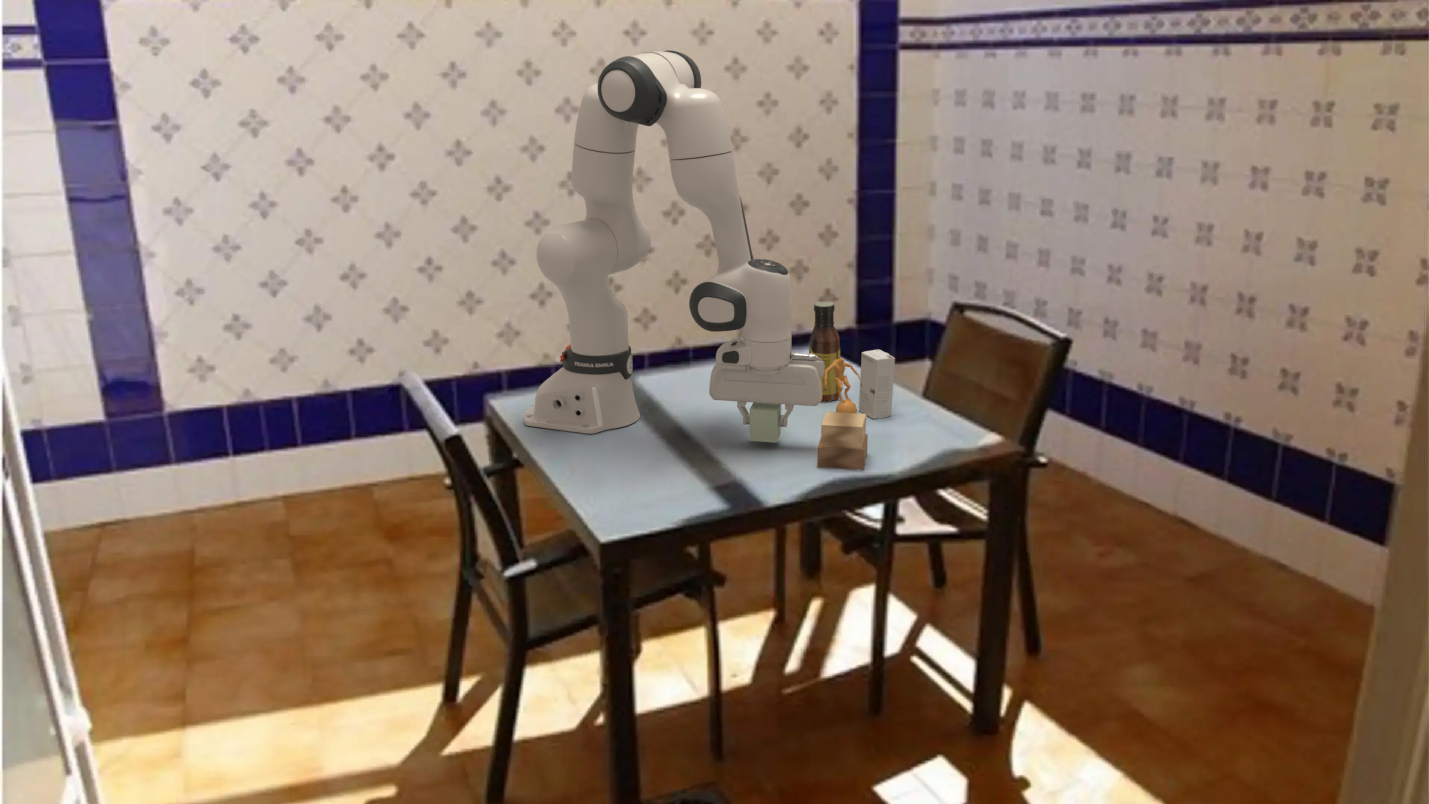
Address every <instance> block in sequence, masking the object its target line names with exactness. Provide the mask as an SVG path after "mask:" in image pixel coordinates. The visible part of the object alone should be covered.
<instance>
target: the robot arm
mask: <svg viewBox="0 0 1429 804" xmlns="http://www.w3.org/2000/svg"><path fill="white" fill-rule="evenodd" d="M699 69H700V68H699V67H698V65H697V64H696V62H695V61H694V60H693V59H692V58H691V57H690V56H689V55H687V54H685V53H683V52H679V51H676V50H669V49H667V50H663V51H662V50H660V51H658V50H652V51H643V52H641V53H638V54H634V55H631V56H629V55H628V56H623V57H619V58H617V59H615V60H613V61H611V62H610V63H609V64H607V65H606V66H605V68H603V70H602V71H601V73H600V75H599V77H598V80H597V81H598V82H597V83H594V84H592V85H590V86H589V87H588V88H587V89H586V90H585V91H584V92H583V95H582V99H581V102H580V106H579V110H578V114H577V118H576V123H575V124H576V126H575V132H574V139H573V150H572V164H571V165H572V166H571V175H570V176H571V177H570V182H571V187H572V188H573V190H574V191H575V192H576V193H577V195H579V196H580V197H582V198H583V200H584V203H585V208H586V210H585V211H586V213H585V214H586V215H585V218H584V220H579V221H575V222H569V223H567V224H562V225H560V226H558V227H556V228H554V229H552V230H551V231H549V232H547V233H546V234H544V235H543V236H542V237H541V238H540V239H539V240H538V244H537V248H536V260H537V261H536V262H537V265H538V267H539V270H540V272H541V274H543V276H544V277H545V278H546V279H547V280H548V281H550V282H551V283H552V284H554V286H556V288H557V289H558V291H559V292H560V294H561V296H562V299H563V301H564V303H565V306H566V310H567V314H568V326H569V337H570V343H569V344H568V345H567V346H566V347H565V349H564V351H562V352H561V355H559V363H562V367H561V368H559V369H558V370H557V371H556V372H554V373H553V374H552V375H550V377H548V378H547V379H546V380H544V381H543V383H541V384H540V386H539V387H538V389H537V391H536V394H535V398H534V404H533V405H532V406H531V407H530V408H528V409H527V410H526V412H525V413H524V415H523V424H524V425H525V426H528V427H535V428H542V429H549V430H556V431H558V430H559V431H566V432H572V433H579V434H580V433H581V434H589V435H591V434H593V435H594V434H596V433H600V432H603V431H606V430H612V429H613V430H614V429H618V428H622V427H625V426H629V425H632V424H633V423H636V422H637V421H638V420H639V419H640V418H641V414H640V411H639V408H638V404H637V402H636V398H635V393H634V392H635V391H634V387H633V380H632V375H633V370H634V369H633V365H634V364H633V355H632V348H631V346H630V344H629V343H630V341H629V322H628V321H629V320H628V319H629V318H628V317H629V315H628V309H627V307H626V305H625V304H624V303H623V301H621V300H619V299H618V298H616V297H615V296H614V295H613V292H612V291H611V288H610V283H609V275H614V274H616V273H621V272H624V271H628V270H629V269H631V268H633V267H635V266H636V265H638V264H639V263H641V262H642V261H643V260H645V259H646V258H647V256H648V255H649V254H650V253H649V252H650V250H651V245H652V239H651V233H650V230H649V228H648V227H647V224H646V223H645V222H644V221H643V219H642V218H640V217H639V215H638V213H637V211H636V206H635V201H634V196H633V178H634V167H635V157H636V155H635V154H636V147H637V146H636V145H637V136H638V135H637V134H638V128H639V126H640V125H642V126H646V127H652V126H654V124H656V125H658V126H660V127H661V129H662V130H663V132H664V134H665V137H666V142H667V143H666V144H667V151H668V159H669V165H670V173H671V178H672V181H673V182H672V183H673V184H674V188H675V190H676V193H677V196H679V197H680V199H681V200H683V201H684V202H685V203H686V204H688V206H691V207H692V208H693V207H694V208H695V209H698V210H699V211H701V212H702V213H703V214H704V216H705V217H706V218H707V219H708V221H709V224H710V226H711V230H712V235H713V240H714V245H715V250H716V255H717V261H718V265H717V266H718V267H717V271H716V274H715V275H712V276H710V277H709V278H706V279H705V280H703V281H702V282H700V283H699V284H697V285H696V286H695V287H694V288H693V290H692V292H691V293H690V296H689V302H688V304H689V305H688V307H689V312H690V315H691V318H692V319H693V320H694V322H695V323H696V324H697V325H698V326H699V327H700V328H702V329H703V330H705V331H708V332H714V333H715V332H716V333H717V332H720V333H721V332H730V331H740V332H741V338H739V339H735V340H731V341H727V342H724V343H723V344H722V345H720V346H719V348H718V349H717V351H716V353H715V360H716V363H715V364H714V366H713V368H712V369H711V372H710V377H709V379H710V380H709V391H708V392H709V396H710V397H711V399H712V400H714V401H726V402H737V404H736V407H737V409H738V411H739V412H740V414H741V416H742V417H743V418H742V420H743V421H742V423H743V425H748V426H750V412H749V411H748V409H747V407H746V405H747V403H753V402H755V403H771V404H781V405H784V410H785V411H786V412H785V413H784V414H781V415H780V416H779V424H778V426H779V427H781V428H787V427H788V424H789V423H788V422H789V419H788V418H789V416H790V415H791V413H792V412H793V410H794V408H795V406H804V407H805V406H807V407H817V406H818V405H819V404H820V403H821V402H822V401H821V400H822V380H821V378H822V377H823V375H824V369H825V365H824V361H823V360H822V359H821V358H819V357H817V356H816V355H815V354H809V353H808V354H806V353H800V352H799V353H798V352H797V353H796V352H792V341H793V340H792V335H793V334H792V330H791V325H790V322H791V317H792V313H793V290H792V280H791V275H790V273H789V270H788V268H787V267H786V266H784V265H783V264H781V263H780V262H778V261H774V260H770V259H765V258H762V259H760V258H754V255H753V252H752V247H751V242H750V235H749V231H748V226H747V220H746V215H745V211H744V206H743V202H742V197H741V195H740V194H741V193H740V189H739V185H738V179H737V172H736V165H735V157H734V151H733V149H734V148H733V142H732V136H731V132H730V127H729V122H728V118H727V116H726V112H725V109H724V105H723V102H722V100H721V99H720V97H719V95H717V94H716V93H715V92H713V91H711V90H709V89H706V88H702V75H701V72H700V70H699ZM816 359H818V360H816Z"/></svg>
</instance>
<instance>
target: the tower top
mask: <svg viewBox="0 0 1429 804" xmlns="http://www.w3.org/2000/svg"><path fill="white" fill-rule="evenodd" d="M820 427H821V428H820V438H821V447H833V448H850V449H862V446H863V443H864V439H865V436H866V434H867V432H866V431H867V415H866V414H864V413H857V412H856V413H839V412H836V411H835V412H834V411H826V412H825V414H824V416H823V419H822V422H821V424H820Z"/></svg>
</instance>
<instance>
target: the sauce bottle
mask: <svg viewBox="0 0 1429 804" xmlns="http://www.w3.org/2000/svg"><path fill="white" fill-rule="evenodd" d="M813 311H814V327H813V329H812V332H811V335H810V338H809V341H808V354H815V355H816V356H817V357H819V358H821V359H822V360H823V361H824V365H825V369H824V375H823V377H822V378H821V380H822V400H821V402H823V403H825V402H826V403H827V402H830V401H831V402H832V401H836V400H838V399H840V397H839V393H838V390H840V389H839V388H838V386H837V384H836V382H835V378H836V377H837V374H836V373H835V371H834V368H833V369H831V370H830V371H828V372H827V381H826V382H827V383H828V384H827V385H826V386H824V381H825V370H826V369H827V368H828V367H830V366H831V364H832V363H833V361H834V360H836V359H840V358H841V347H840V342H841V341H840V335H839V333H838V330H837V329H836V327H835V325H834V324H835V321H834V317H835V316H834V315H835V314H834V312H835V303H834V302H833V301H828V300H827V301H826V300H825V301H816V302H815V303H814V304H813ZM816 360H818V359H816ZM827 386H828V387H827Z"/></svg>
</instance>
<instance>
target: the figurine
mask: <svg viewBox="0 0 1429 804" xmlns="http://www.w3.org/2000/svg"><path fill="white" fill-rule="evenodd" d="M833 368H834V371H835V373H836V374H837V377H836V378H835V382H836V384H837V386H838V388H839V389H840V390H838V393H839V400H840V402H839V401H838V403H837V405H836V407H835V412H839V413H857V412H858V410H857V406H856V404H855V403H854V402H853V401H852V400H851V398H849V396H848V392H849V391H850V389H851V387H852V385H851V384H850V382H849V380H848V376H847V375H845V370H846V368H850V369H851V370H852V371H853V373H854V374H855V375H856V376H857V377H858V380H859V381H860V375H859V374H858V372H857V370H856V369H855V368H854V366H853V365H852V364H850V363H847V362H846V361H845V360H844V358H843V357H840V359H836V360H834V361H833V363H832V364H831V366H830V367H828V368H827V369H826V370H825V381H824V386H826V385H827V384H828V383H827V382H826V381H827V372H828V371H830V370H831V369H833ZM843 386H845V388H844V387H843ZM827 387H828V386H827ZM843 389H844V396H845V399H843V396H842V394H841V393H842V391H843Z"/></svg>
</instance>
